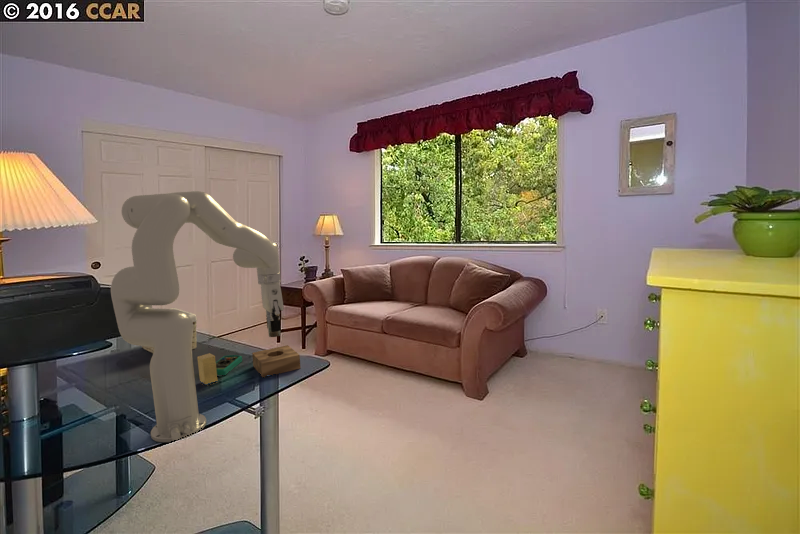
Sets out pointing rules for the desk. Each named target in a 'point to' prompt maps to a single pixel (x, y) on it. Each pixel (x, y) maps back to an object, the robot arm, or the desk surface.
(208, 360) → the square bit
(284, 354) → the bore block
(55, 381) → the desk surface
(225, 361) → the digital multimeter
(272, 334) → the cylinder
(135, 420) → the desk surface
